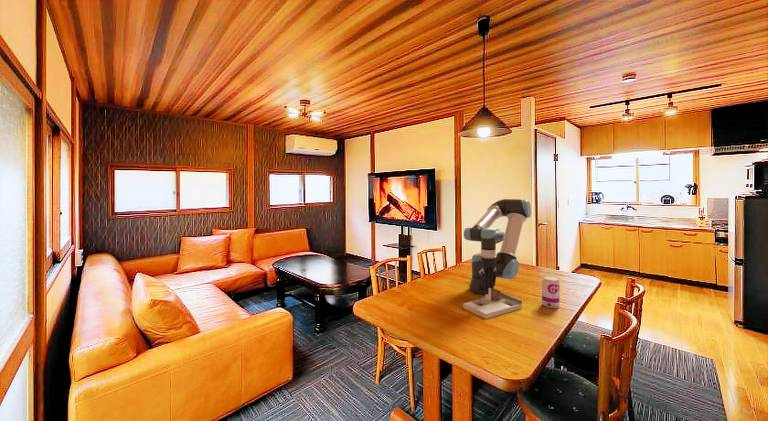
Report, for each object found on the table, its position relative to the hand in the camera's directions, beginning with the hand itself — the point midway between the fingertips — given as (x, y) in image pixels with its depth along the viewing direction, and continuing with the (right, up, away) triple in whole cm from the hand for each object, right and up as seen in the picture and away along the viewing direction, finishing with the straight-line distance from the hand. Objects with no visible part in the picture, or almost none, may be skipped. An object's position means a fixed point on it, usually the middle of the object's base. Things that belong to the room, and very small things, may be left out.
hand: (488, 299), depth 165 cm
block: (+4, -1, +2) cm, 5 cm away
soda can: (+33, -3, -1) cm, 33 cm away
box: (+1, -4, -3) cm, 5 cm away
